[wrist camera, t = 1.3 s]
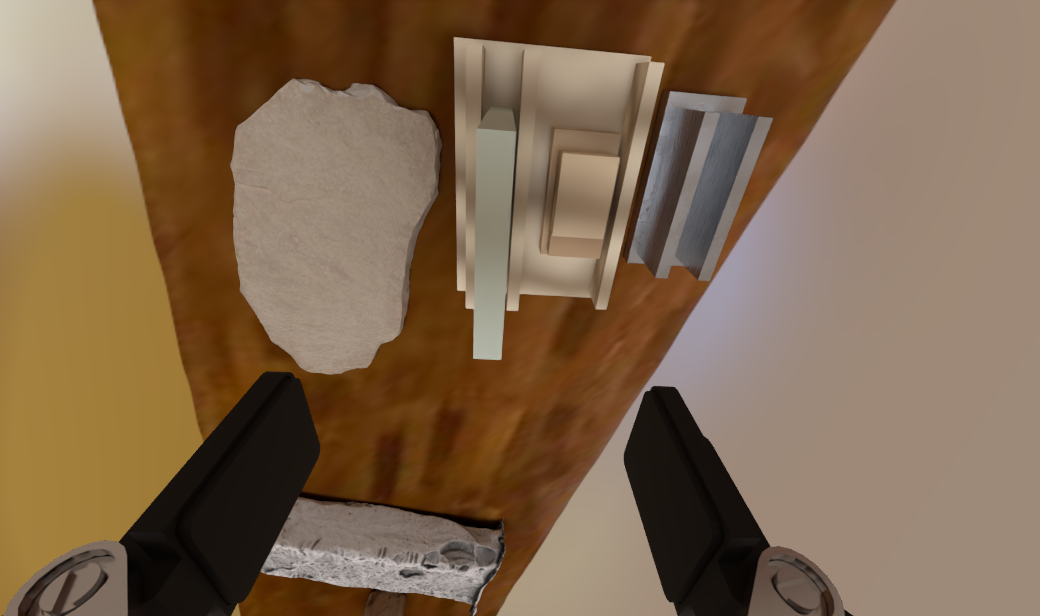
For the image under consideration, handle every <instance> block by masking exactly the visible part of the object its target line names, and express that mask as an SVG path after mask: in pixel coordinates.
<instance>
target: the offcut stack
mask: <svg viewBox="0 0 1040 616" xmlns="http://www.w3.org/2000/svg"><path fill="white" fill-rule="evenodd" d="M620 136H621V134H620V133H618V132H614V131H602V130H590V129H578V128H566V127H554V126H553V127H552V136H551V145H550V154H549V163H548V172H547V181H546V190H545V199H544V208H543V217H542V226H541V235H540V244H539V249H540V254H548V256H561V257H578V258H594V259H600V255H601V250H602V245H603V240H604V235H605V230H606V226H607V221H608V216H609V211H610V206H611V202H612V197H613V192H614V187H615V182H616V177H617V173H618V168H619V163H620V157H618V156H617V151H618V146H619V141H620Z"/></svg>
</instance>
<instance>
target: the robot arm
mask: <svg viewBox="0 0 1040 616" xmlns="http://www.w3.org/2000/svg"><path fill="white" fill-rule="evenodd" d="M319 454H320V443H319V440H318V436H317V433H316V430H315V427H314V423H313V420H312V417H311V413H310V410H309V407H308V404H307V400H306V397H305V394H304V390H303V387H302V384H301V381H300V379H298V378H295V377H294V375H293V374H292V373H291V372H269V371H267V372H265V373H263V374H262V375H261V376H260V377H259V378H258V380H257V381H256V382H255V383H254V384H253V385H252V387H251V388H250V389H249V390H248V391H247V393H246V394H245V395H244V396H243V397H242V398H241V400H240V401H239V402H238V403H237V404H236V405H235V407H234V408H233V409H232V410H231V411H230V412H229V414H228V415H227V416H226V417H225V418H224V419H223V421H222V422H221V423H220V424H219V425H218V426H217V428H216V429H215V430H214V431H213V432H212V433H211V434H210V436H209V437H208V438H207V439H206V440H205V441H204V443H203V444H202V445H201V446H200V447H199V448H198V450H197V451H196V452H195V453H194V454H193V456H192V457H191V458H190V459H189V460H188V461H187V463H186V464H185V465H184V466H183V467H182V468H181V470H180V471H179V472H178V473H177V474H176V475H175V477H174V478H173V479H172V480H171V481H170V482H169V484H168V485H167V486H166V487H165V488H164V490H163V491H162V492H161V493H160V494H159V495H158V496H157V498H156V499H155V500H154V501H153V502H152V503H151V505H150V506H149V507H148V508H147V509H146V511H145V512H144V513H143V514H142V515H141V516H140V518H139V519H138V520H137V521H136V522H135V523H134V525H133V526H132V527H131V528H130V529H129V530H128V532H127V533H126V534H125V535H124V536H123V537H122V539H121V540H120V541H119V542H117V541H107V540H104V541H98V542H93V543H89V544H86V545H83V546H81V547H78V548H76V549H73V550H71V551H69V552H67V553H66V554H64V555H62V556H60V557H58V558H57V559H55V560H53V561H52V562H50V563H49V564H48V565H46V566H45V567H44V568H42V569H41V570H39V571H38V572H37V573H35V574H34V575H33V576H32V577H31V578H30V579H29V580H28V581H27V582H26V583H25V584H24V585H23V586H22V587H21V588H20V589H19V591H18V592H17V593H16V594H15V596H14V597H13V598H12V600H11V601H10V602H9V604H8V606H7V609H6V611H5V613H4V615H3V616H231V614H232V613H233V611H234V609H235V607H236V605H237V603H241V602H242V601H244V600H245V599H246V597H247V596H248V594H249V593H250V591H251V589H252V587H253V585H254V583H255V581H256V579H257V577H258V575H259V573H260V571H261V569H262V567H263V565H264V563H265V562H266V560H267V558H268V556H269V554H270V552H271V550H272V548H273V546H274V544H275V542H276V540H277V538H278V536H279V534H280V532H281V530H282V528H283V526H284V524H285V522H286V520H287V518H288V516H289V514H290V512H291V511H292V509H293V507H294V505H295V503H296V501H297V499H298V497H299V495H300V493H301V491H302V489H303V487H304V485H305V483H306V481H307V479H308V477H309V475H310V473H311V471H312V469H313V467H314V465H315V463H316V461H317V459H318V457H319ZM624 465H625V468H626V472H627V475H628V478H629V481H630V484H631V488H632V491H633V494H634V497H635V501H636V504H637V507H638V510H639V513H640V517H641V520H642V523H643V526H644V530H645V533H646V536H647V539H648V543H649V546H650V549H651V552H652V555H653V559H654V562H655V565H656V568H657V572H658V575H659V578H660V581H661V585H662V588H663V591H664V594H665V596H666V598H667V600H668V601H669V602H673V603H674V605H675V609H676V611H677V615H678V616H853V615H851V614H850V613H848V612H847V611H846V610H844V608H843V602H842V600H841V598H840V596H839V594H838V591H837V589H836V588H835V586H834V585H833V584H832V582H831V581H830V579H829V578H828V577H827V575H825V573H824V572H823V571H822V570H821V569H820V568H819V567H818V566H817V565H816V564H814V563H813V562H812V561H810V560H809V559H808V558H806V557H805V556H804V555H802V554H800V553H797V552H796V551H794V550H792V549H788V548H784V547H780V546H777V547H770V545H769V543H768V541H767V540H766V538H765V536H764V535H763V533H762V531H761V529H760V528H759V526H758V524H757V522H756V521H755V519H754V517H753V515H752V514H751V512H750V510H749V508H748V507H747V505H746V503H745V502H744V500H743V498H742V496H741V494H740V493H739V491H738V489H737V487H736V486H735V484H734V482H733V480H732V479H731V477H730V475H729V473H728V472H727V470H726V468H725V466H724V465H723V463H722V461H721V459H720V458H719V456H718V454H717V452H716V451H715V449H714V447H713V445H712V444H711V443H710V441H709V440H708V439H707V438H705V437H704V436H703V435H702V433H701V431H700V429H699V427H698V426H697V424H696V422H695V420H694V419H693V417H692V415H691V413H690V411H689V410H688V408H687V406H686V405H685V403H684V401H683V399H682V397H681V395H680V394H679V392H678V390H677V389H676V388H675V387H665V386H663V387H662V386H653V387H652V388H651V390H650V391H646V392H645V394H644V396H643V399H642V402H641V405H640V408H639V411H638V414H637V417H636V420H635V423H634V426H633V428H632V431H631V434H630V437H629V440H628V443H627V446H626V449H625V452H624Z"/></svg>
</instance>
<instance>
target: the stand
mask: <svg viewBox="0 0 1040 616" xmlns="http://www.w3.org/2000/svg"><path fill="white" fill-rule="evenodd" d="M746 100H747V98H737V97H727V96H716V95H705V94H694V93H683V92H672V91H663V94H662V98H661V102H660V106H659V110H658V114H657V118H656V122H655V126H654V131H653V135H652V139H651V143H650V147H649V151H648V155H647V159H646V164H645V168H644V172H643V176H642V180H641V184H640V188H639V192H638V196H637V201H636V205H635V209H634V213H633V217H632V221H631V225H630V229H629V233H628V238H627V242H626V246H625V250H624V254H623V257H624V258H625V260H626V261H627V263H642V264H645V265H646V266H647V267H648V269H649V270H650V271H651V273H652V274H653V275H654V277H655V278H667V277H668V274H669V271H670V268H671V265H675V266H685V267H686V268H687V269H688V270H689V271H690V272H691V273H692V275H693V276H694V277H695V278H696V279H697V280H704V281H710V278H711V276H712V273H713V271H714V268H715V266H716V263H717V260H718V258H719V255H720V253H721V250H722V248H723V245H724V243H725V240H726V237H727V235H728V232H729V230H730V227H731V225H732V222H733V220H734V217H735V214H736V212H737V209H738V207H739V204H740V202H741V199H742V197H743V194H744V191H745V189H746V186H747V184H748V181H749V179H750V176H751V174H752V171H753V168H754V166H755V163H756V161H757V158H758V156H759V153H760V151H761V148H762V145H763V143H764V140H765V138H766V135H767V133H768V130H769V128H770V125H771V122H772V120H773V118H769V117H762V116H755V115H748V114H742V112H743V109H744V106H745V103H746Z"/></svg>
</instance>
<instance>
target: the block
mask: <svg viewBox="0 0 1040 616" xmlns="http://www.w3.org/2000/svg"><path fill="white" fill-rule="evenodd" d="M405 602H406V597H405V595H404V594H403V593H399V592H389V591H386V590H377V591H374V592H371V593H370V595H369V597H368V601H367V604H366V607H365V611H364V614H363V616H404V609H405Z"/></svg>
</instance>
